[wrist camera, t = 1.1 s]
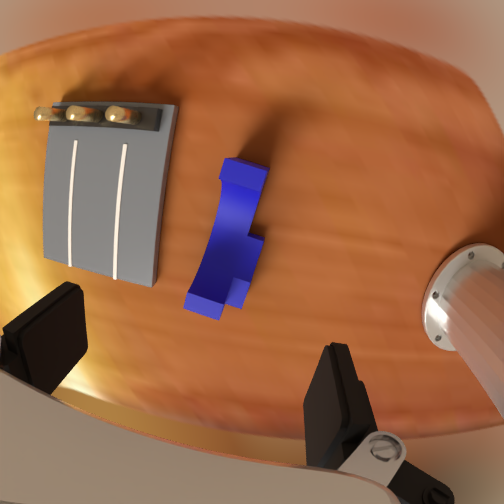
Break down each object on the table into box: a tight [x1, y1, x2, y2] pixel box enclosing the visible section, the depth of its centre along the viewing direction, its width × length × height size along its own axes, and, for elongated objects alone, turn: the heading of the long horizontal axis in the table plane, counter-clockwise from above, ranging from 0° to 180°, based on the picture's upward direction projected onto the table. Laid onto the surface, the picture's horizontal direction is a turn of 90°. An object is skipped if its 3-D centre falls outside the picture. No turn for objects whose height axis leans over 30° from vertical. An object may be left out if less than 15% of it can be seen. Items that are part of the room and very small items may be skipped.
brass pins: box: [34, 105, 163, 132], centre depth 22 cm, size 12×2×5 cm, turn 80°
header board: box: [43, 102, 179, 287], centre depth 27 cm, size 14×17×1 cm
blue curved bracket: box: [184, 158, 270, 320], centre depth 25 cm, size 12×4×6 cm, turn 163°
